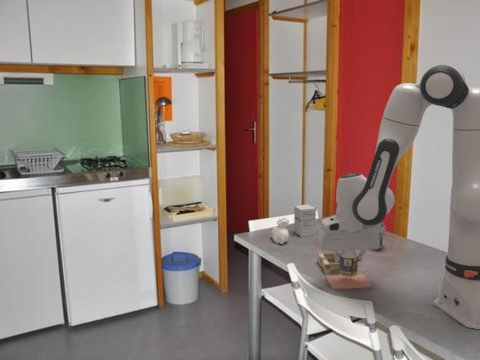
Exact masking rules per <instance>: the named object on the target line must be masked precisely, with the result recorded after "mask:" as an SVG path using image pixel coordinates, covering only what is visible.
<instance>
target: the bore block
mask: <svg viewBox="0 0 480 360" xmlns="http://www.w3.org/2000/svg"><path fill="white" fill-rule="evenodd" d="M341 252H342V251H338V253H337V254H336V255H337V256H340V253H341ZM317 263H318V264H319V266H320V268H321V270H322V271H323V273H324V274H325V275H330V274H340V270H339V269H340V263H336V262H335V256H334V254H333V253H332V251H328V252H318V253H317ZM358 267H359V262H357V273H358V270H359V269H358Z"/></svg>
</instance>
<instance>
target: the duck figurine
mask: <svg viewBox="0 0 480 360" xmlns="http://www.w3.org/2000/svg"><path fill="white" fill-rule="evenodd" d="M289 223H290V221H289V219H288V218H287V217H281V218H280V217H279V218H278V220H276V224H277V225H276V226H273V227H272V230H271V233H270V234H271V239H272V241H273V242H274V243H276V244H277V243H278V244H279V243H280V244H281V245H284V243H286V242H287V241H288V240H289V237H290V234H289V233H290V232H289V230H288V229H287V227H288V225H289ZM280 244H279V245H280Z"/></svg>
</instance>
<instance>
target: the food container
mask: <svg viewBox="0 0 480 360" xmlns="http://www.w3.org/2000/svg"><path fill="white" fill-rule="evenodd" d="M379 224H380V232H379V236H380V246H379V248H378V249H372V250H373V251H375V252H379V251H381V250H382V247H383V240H384V239H383V238H384V232H385V231H386V226H385V224H384V223H383V221H382V222H381V223H379Z"/></svg>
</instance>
